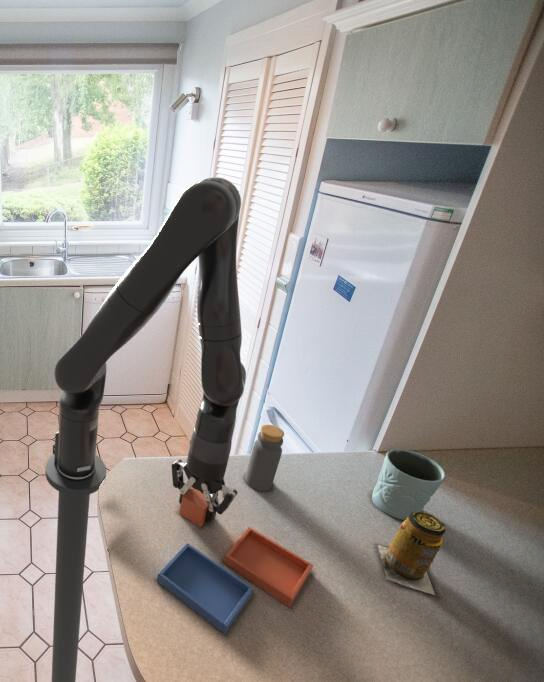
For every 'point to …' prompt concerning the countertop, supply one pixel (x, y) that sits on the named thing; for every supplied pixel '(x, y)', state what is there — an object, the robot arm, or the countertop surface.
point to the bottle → (265, 458)
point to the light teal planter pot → (406, 483)
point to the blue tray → (205, 587)
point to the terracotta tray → (269, 565)
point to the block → (194, 506)
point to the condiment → (413, 551)
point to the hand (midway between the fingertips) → (195, 512)
